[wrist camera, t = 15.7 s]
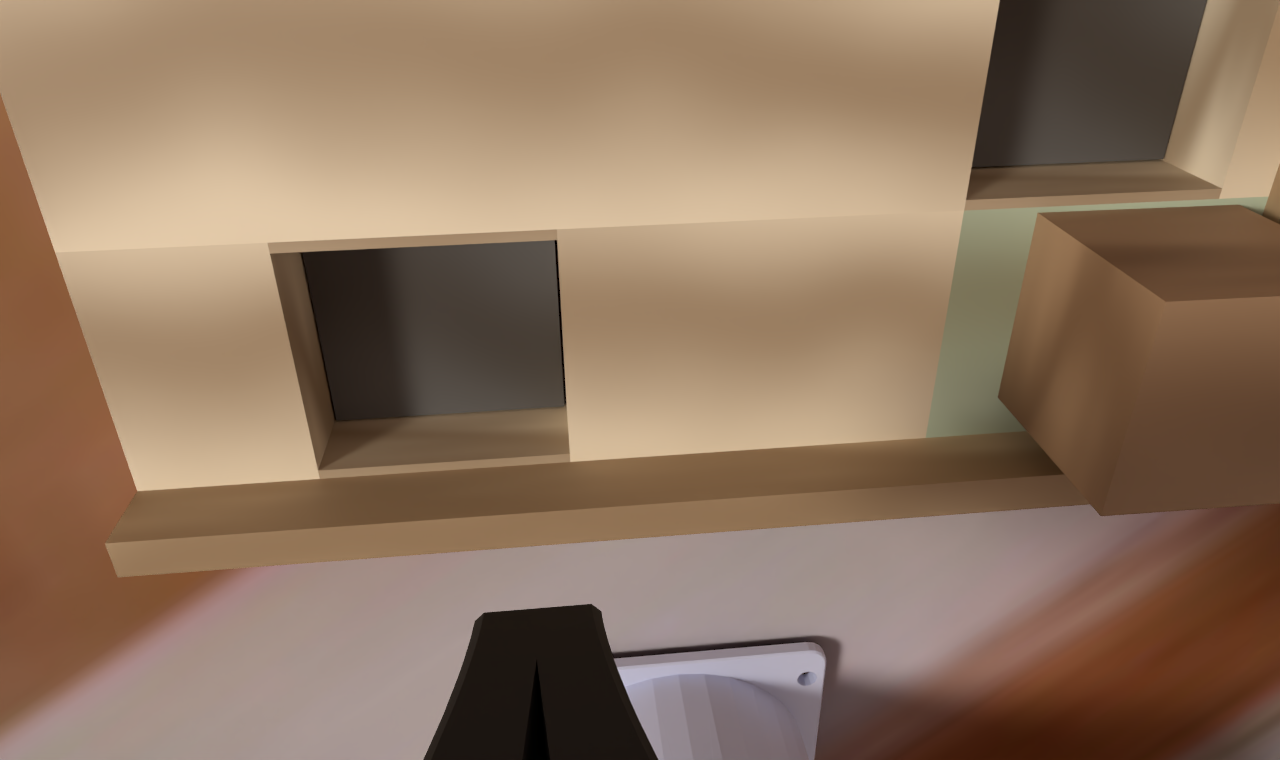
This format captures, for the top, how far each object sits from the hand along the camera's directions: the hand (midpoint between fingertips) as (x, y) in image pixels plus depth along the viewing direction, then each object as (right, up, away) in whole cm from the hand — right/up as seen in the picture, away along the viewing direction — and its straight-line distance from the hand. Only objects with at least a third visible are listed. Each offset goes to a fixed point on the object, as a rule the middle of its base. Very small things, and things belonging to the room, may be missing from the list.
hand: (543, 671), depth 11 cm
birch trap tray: (+2, +7, +8) cm, 11 cm away
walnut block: (+11, +5, +8) cm, 14 cm away
